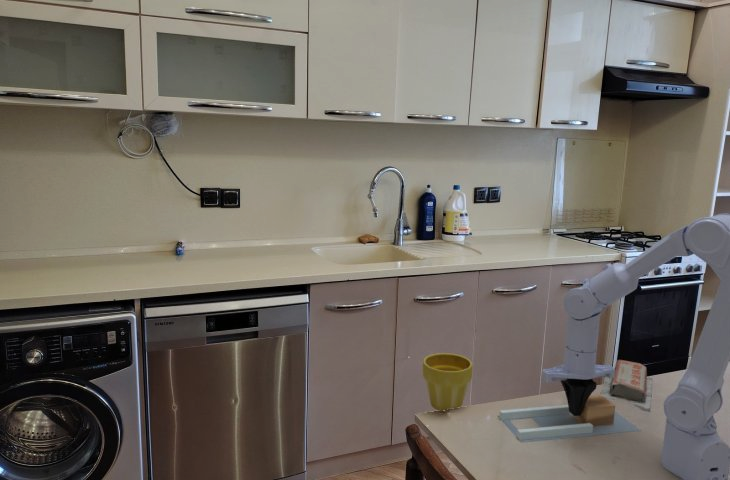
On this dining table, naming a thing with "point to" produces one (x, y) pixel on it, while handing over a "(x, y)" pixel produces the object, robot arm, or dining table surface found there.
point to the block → (597, 411)
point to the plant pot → (447, 379)
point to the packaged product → (629, 384)
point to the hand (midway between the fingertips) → (574, 413)
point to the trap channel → (559, 424)
